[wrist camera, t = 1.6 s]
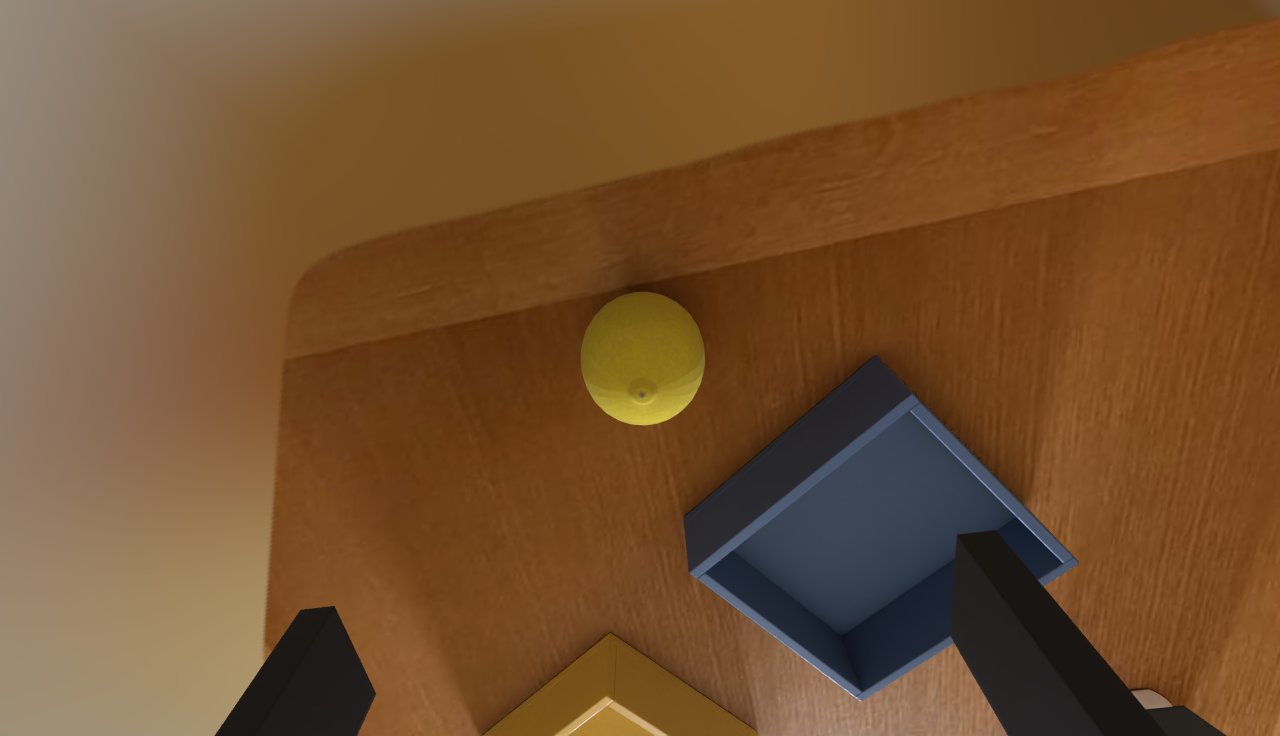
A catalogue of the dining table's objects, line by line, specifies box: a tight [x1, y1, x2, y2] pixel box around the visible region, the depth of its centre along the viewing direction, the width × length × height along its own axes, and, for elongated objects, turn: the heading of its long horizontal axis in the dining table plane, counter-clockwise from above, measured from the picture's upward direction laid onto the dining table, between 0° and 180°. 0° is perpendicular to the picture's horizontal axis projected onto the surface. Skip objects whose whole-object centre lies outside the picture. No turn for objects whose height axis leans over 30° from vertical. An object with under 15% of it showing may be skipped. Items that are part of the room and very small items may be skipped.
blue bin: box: [684, 355, 1079, 701], centre depth 33 cm, size 14×14×5 cm
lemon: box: [581, 292, 705, 425], centre depth 27 cm, size 6×6×8 cm
